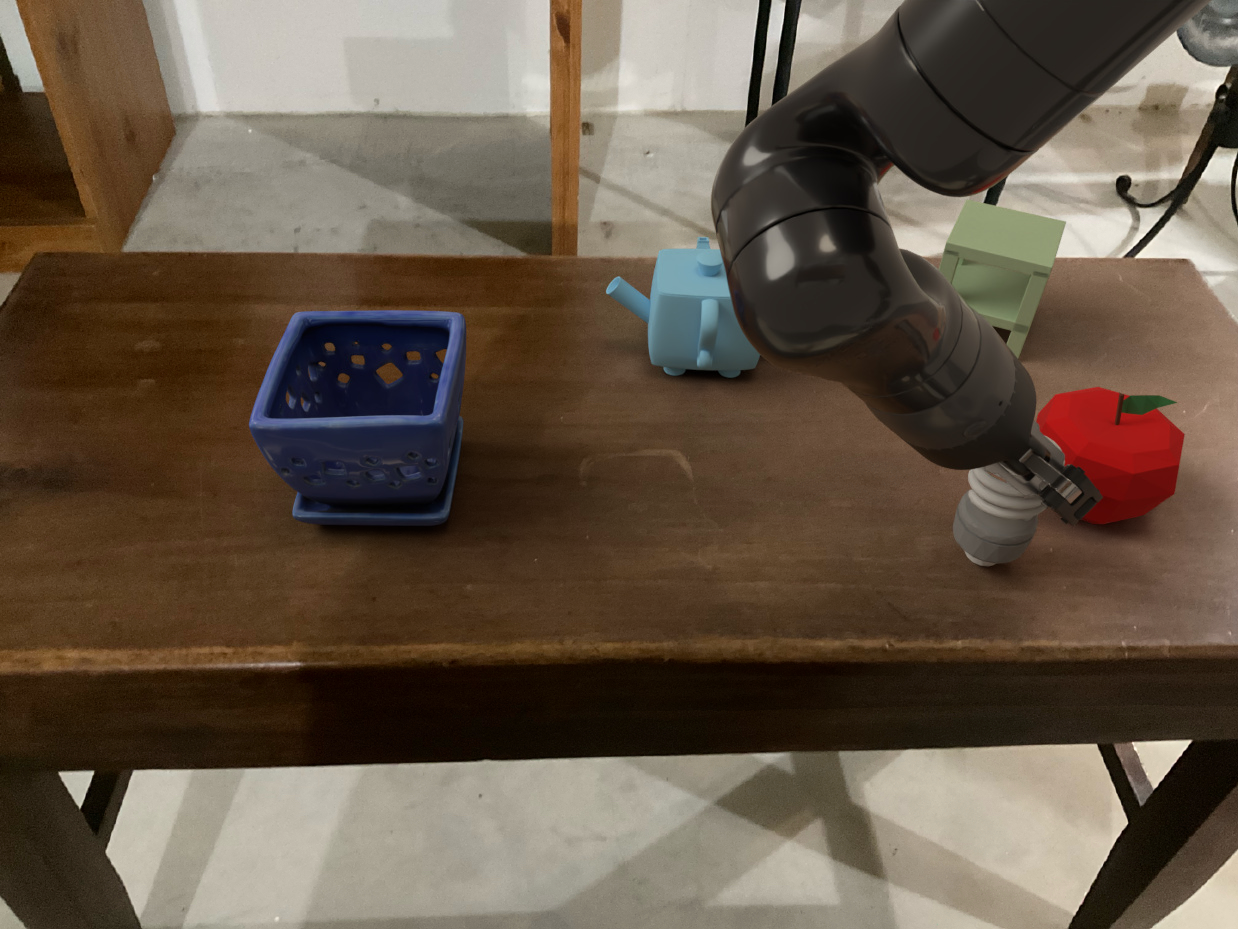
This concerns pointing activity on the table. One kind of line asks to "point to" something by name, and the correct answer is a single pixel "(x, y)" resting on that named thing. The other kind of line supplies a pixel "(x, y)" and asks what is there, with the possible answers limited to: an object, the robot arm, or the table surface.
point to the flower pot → (365, 416)
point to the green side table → (1002, 264)
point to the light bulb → (995, 519)
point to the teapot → (689, 313)
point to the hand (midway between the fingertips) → (1030, 470)
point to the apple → (1117, 448)
